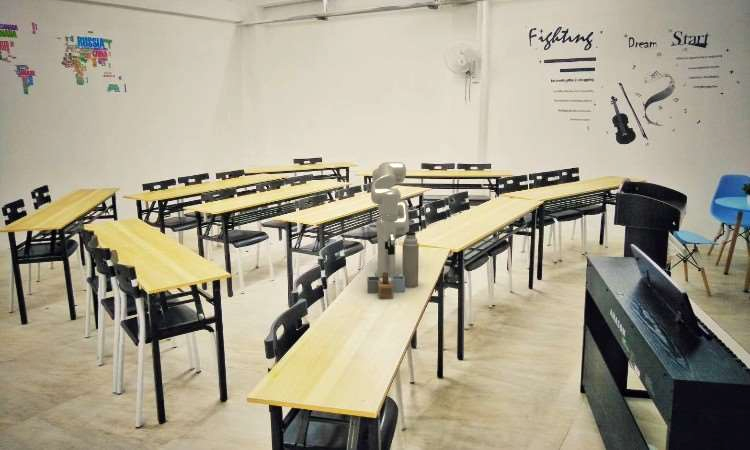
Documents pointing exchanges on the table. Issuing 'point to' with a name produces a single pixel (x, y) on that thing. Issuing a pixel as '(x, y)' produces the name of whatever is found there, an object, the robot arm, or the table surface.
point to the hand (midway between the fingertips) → (389, 251)
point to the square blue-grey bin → (398, 283)
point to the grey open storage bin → (372, 284)
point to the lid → (385, 281)
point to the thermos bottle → (410, 260)
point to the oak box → (385, 293)
